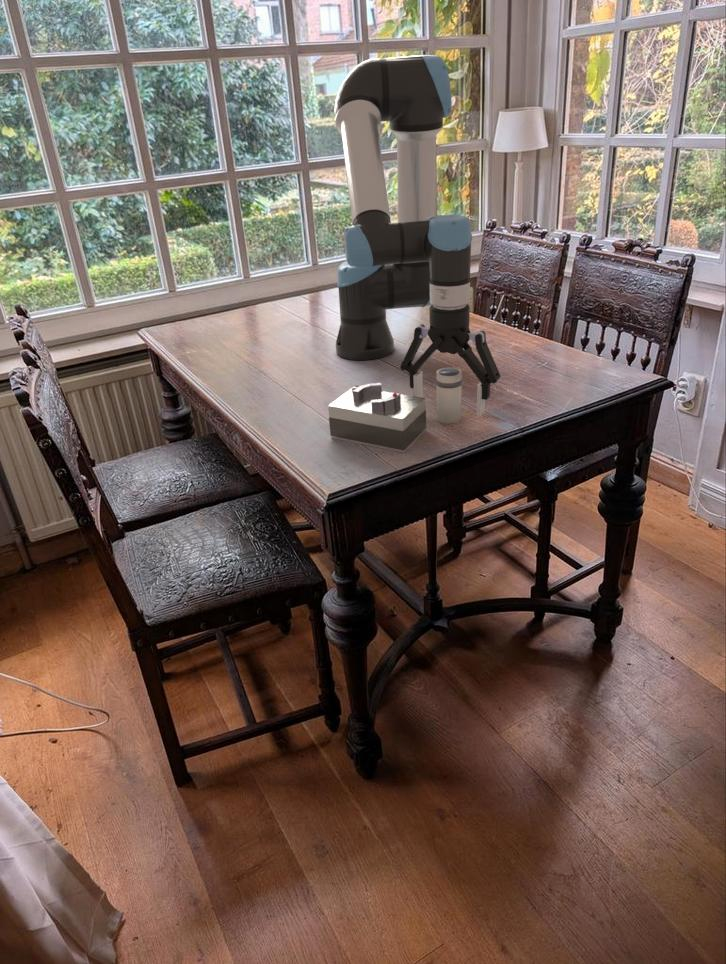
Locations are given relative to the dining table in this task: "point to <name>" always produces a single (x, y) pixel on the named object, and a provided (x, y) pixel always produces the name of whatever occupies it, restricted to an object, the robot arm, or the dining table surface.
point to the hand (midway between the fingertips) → (448, 408)
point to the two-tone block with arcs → (377, 418)
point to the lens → (448, 395)
